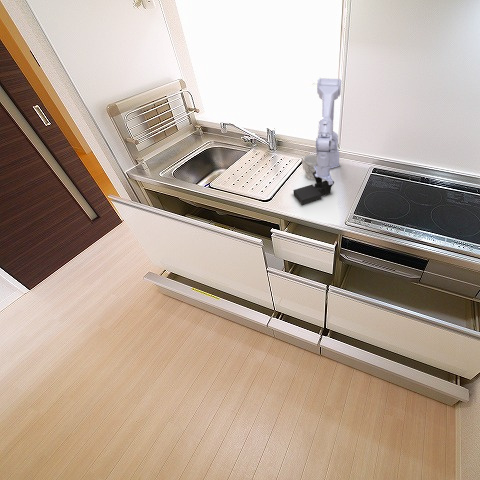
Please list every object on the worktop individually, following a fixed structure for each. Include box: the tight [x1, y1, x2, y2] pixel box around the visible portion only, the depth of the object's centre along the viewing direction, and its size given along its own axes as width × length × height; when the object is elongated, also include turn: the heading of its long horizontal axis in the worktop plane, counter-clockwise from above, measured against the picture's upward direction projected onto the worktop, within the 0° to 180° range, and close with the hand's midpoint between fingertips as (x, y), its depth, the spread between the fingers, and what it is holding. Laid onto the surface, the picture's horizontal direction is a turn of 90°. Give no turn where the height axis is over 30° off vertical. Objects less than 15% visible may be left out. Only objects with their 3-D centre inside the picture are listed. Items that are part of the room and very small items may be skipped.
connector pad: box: [314, 180, 332, 198], centre depth 123 cm, size 6×5×4 cm
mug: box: [301, 154, 317, 181], centre depth 132 cm, size 11×8×10 cm
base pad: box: [293, 184, 322, 206], centre depth 121 cm, size 12×9×3 cm
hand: (322, 189), depth 124 cm, fingers open, 7 cm apart
